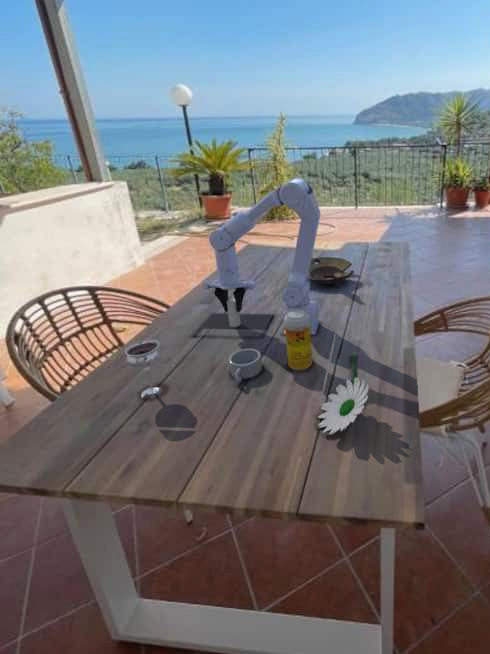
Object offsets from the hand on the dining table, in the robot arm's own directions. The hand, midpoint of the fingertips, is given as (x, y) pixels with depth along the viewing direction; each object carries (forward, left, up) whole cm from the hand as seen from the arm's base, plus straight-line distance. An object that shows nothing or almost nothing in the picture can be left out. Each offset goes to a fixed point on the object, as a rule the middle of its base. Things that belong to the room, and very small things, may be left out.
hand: (233, 310), depth 117 cm
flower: (-38, +31, -5) cm, 49 cm away
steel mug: (-11, +24, -5) cm, 27 cm away
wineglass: (+8, +32, -5) cm, 33 cm away
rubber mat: (0, 0, -5) cm, 5 cm away
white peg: (0, 0, -5) cm, 5 cm away
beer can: (-24, +20, -5) cm, 32 cm away
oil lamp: (-23, -37, -5) cm, 44 cm away
